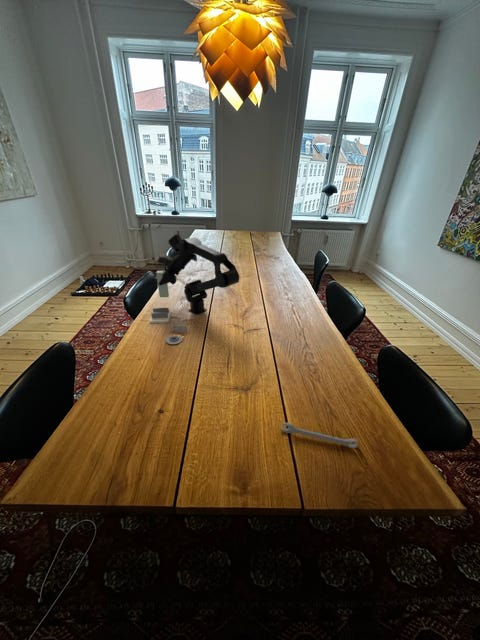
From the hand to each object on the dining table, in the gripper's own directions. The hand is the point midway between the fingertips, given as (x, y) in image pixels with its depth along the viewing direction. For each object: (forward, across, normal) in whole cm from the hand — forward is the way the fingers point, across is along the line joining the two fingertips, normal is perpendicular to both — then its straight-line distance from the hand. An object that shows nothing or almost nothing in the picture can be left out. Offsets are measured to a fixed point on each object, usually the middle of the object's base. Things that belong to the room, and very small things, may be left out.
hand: (159, 283), depth 120 cm
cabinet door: (+4, 0, +6) cm, 7 cm away
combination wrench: (-26, +78, +43) cm, 92 cm away
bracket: (+3, +27, +15) cm, 31 cm away
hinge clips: (+8, +10, +9) cm, 16 cm away
